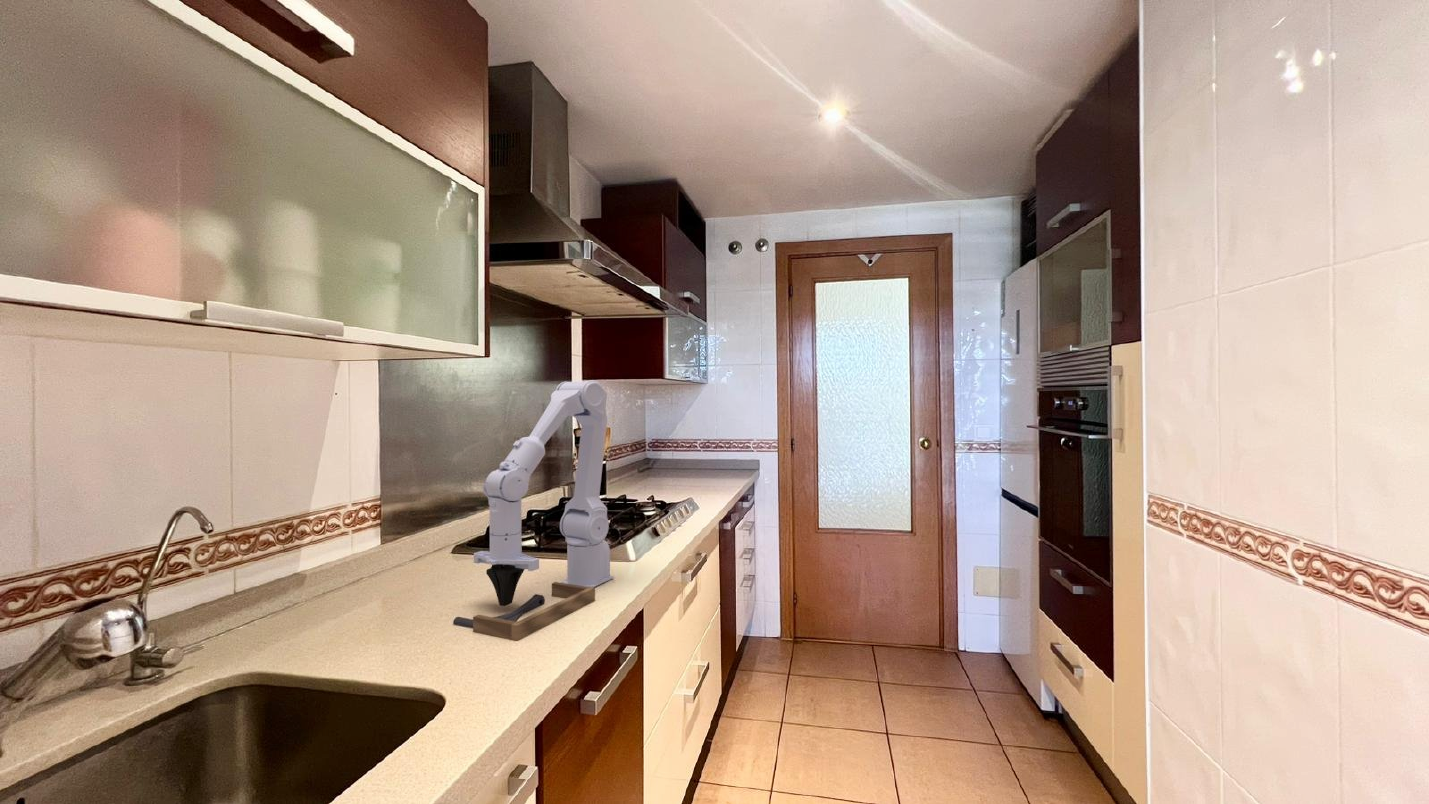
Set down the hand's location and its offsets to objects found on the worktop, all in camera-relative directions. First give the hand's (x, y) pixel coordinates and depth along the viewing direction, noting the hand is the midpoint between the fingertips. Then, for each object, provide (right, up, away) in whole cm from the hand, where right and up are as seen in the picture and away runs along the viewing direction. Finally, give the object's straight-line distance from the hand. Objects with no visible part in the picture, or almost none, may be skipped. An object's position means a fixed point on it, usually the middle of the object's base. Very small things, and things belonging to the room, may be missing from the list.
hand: (505, 604), depth 109 cm
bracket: (+3, -2, -4) cm, 5 cm away
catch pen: (+7, -1, -3) cm, 8 cm away
